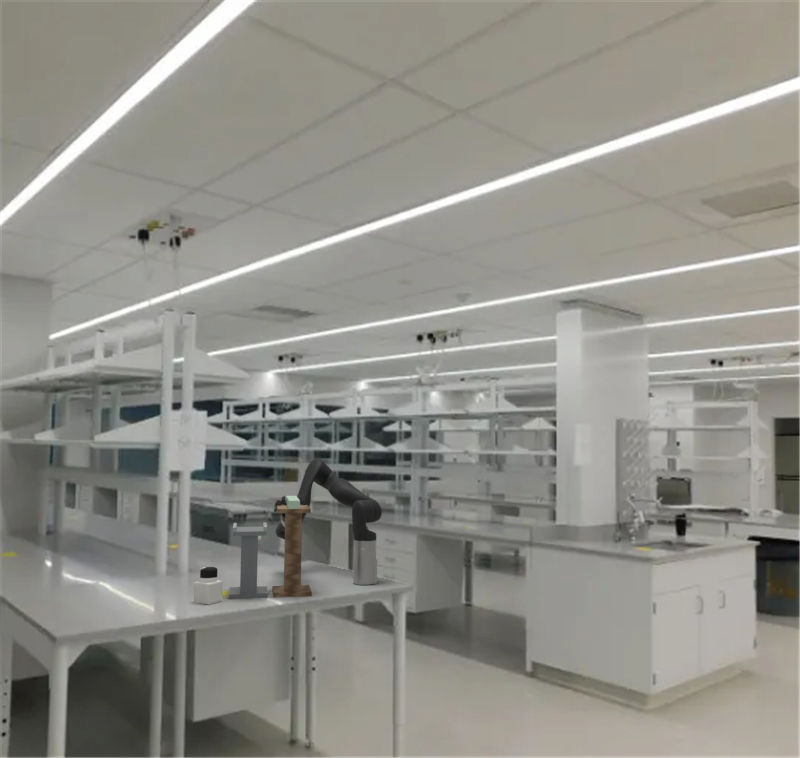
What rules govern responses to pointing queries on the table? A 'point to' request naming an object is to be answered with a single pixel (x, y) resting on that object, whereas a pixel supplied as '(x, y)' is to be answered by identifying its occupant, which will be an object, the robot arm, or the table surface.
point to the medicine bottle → (208, 587)
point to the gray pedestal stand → (249, 563)
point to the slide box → (293, 502)
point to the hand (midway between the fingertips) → (292, 497)
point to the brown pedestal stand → (292, 554)
